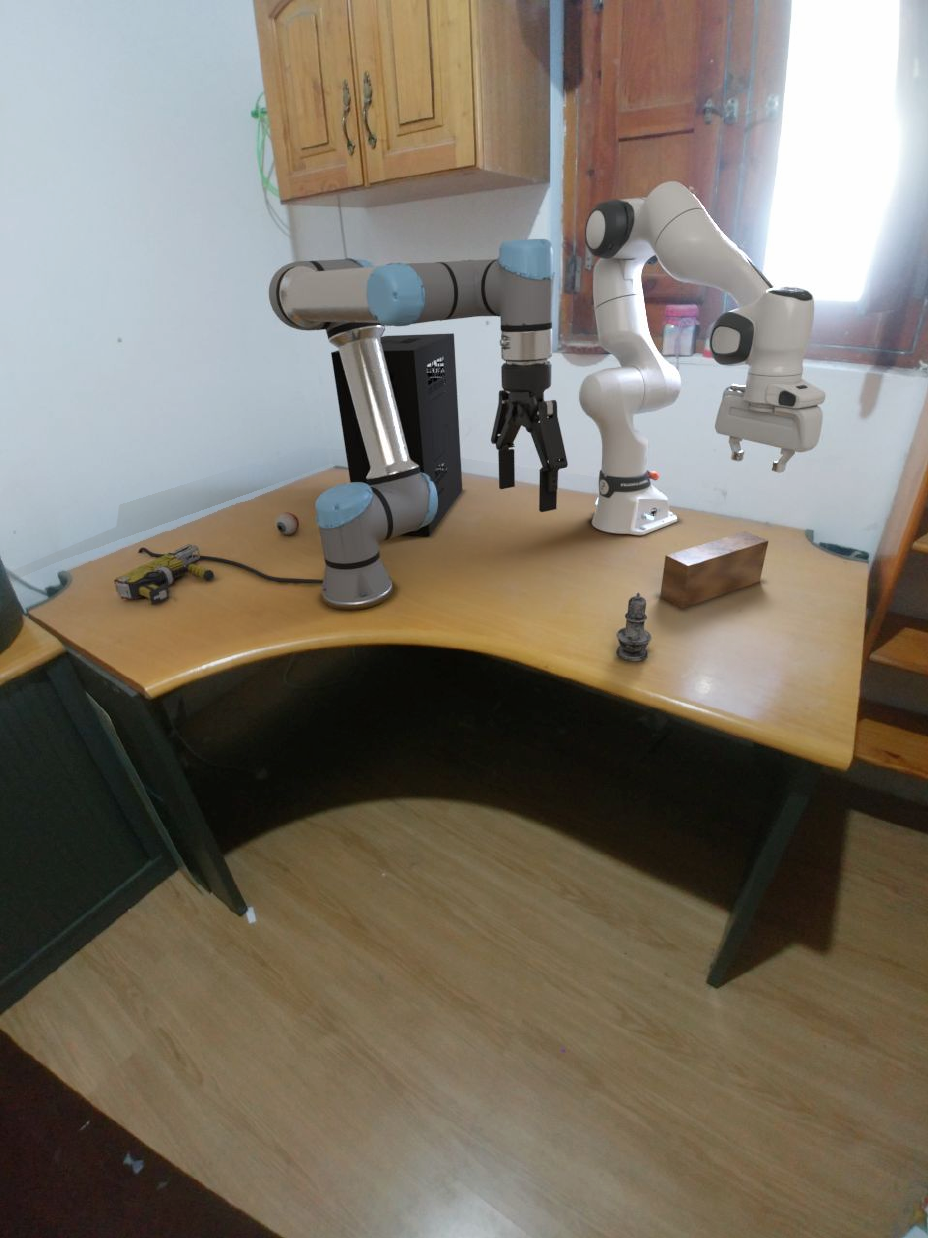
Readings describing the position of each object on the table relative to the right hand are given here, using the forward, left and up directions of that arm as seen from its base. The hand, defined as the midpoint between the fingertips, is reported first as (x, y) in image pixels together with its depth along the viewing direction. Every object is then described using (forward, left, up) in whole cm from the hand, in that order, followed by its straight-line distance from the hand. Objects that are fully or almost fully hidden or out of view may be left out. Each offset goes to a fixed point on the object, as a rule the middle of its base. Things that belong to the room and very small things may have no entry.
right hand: (756, 465), depth 116 cm
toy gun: (+108, -63, -25) cm, 128 cm away
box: (+7, 0, -25) cm, 26 cm away
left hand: (+49, -3, +2) cm, 49 cm away
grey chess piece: (+36, +12, -25) cm, 45 cm away
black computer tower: (+43, -79, -25) cm, 94 cm away
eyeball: (+79, -80, -25) cm, 115 cm away
